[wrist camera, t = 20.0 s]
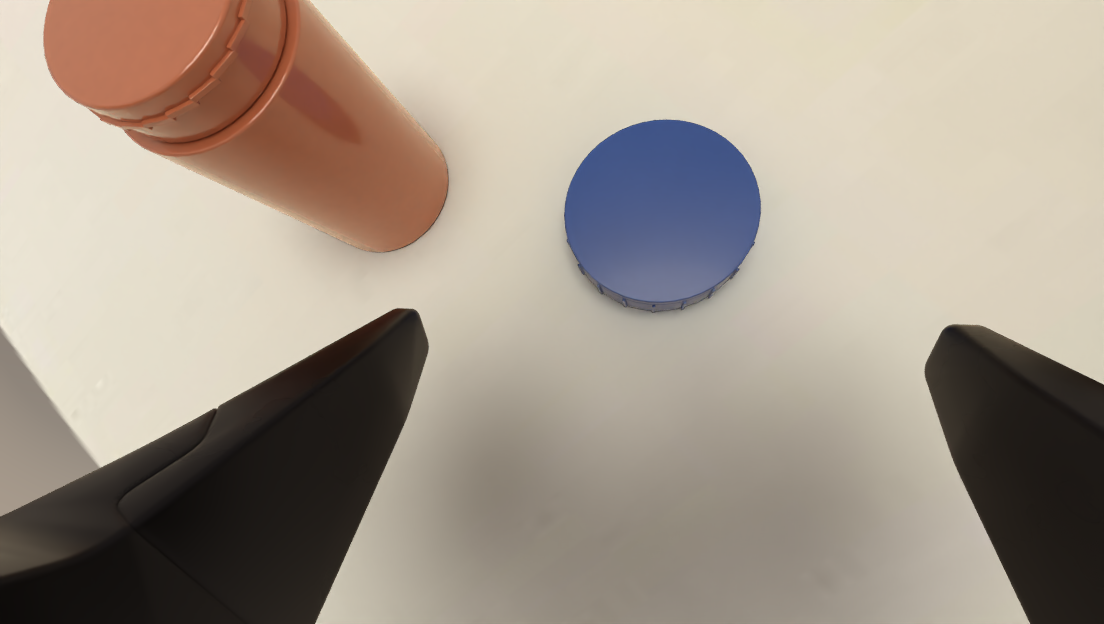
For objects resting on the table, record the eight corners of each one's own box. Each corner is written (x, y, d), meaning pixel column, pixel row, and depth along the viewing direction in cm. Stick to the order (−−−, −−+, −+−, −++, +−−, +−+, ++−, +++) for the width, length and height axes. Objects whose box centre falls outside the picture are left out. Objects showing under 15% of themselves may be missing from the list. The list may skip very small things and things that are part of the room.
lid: (700, 115, 18) (706, 85, 17) (783, 266, 17) (800, 252, 15) (546, 190, 19) (535, 170, 17) (612, 340, 18) (608, 335, 16)
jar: (394, 278, 20) (129, 169, 10) (304, 208, 22) (-8, 49, 11) (475, 166, 20) (294, -60, 10) (379, 104, 22) (136, -149, 11)
